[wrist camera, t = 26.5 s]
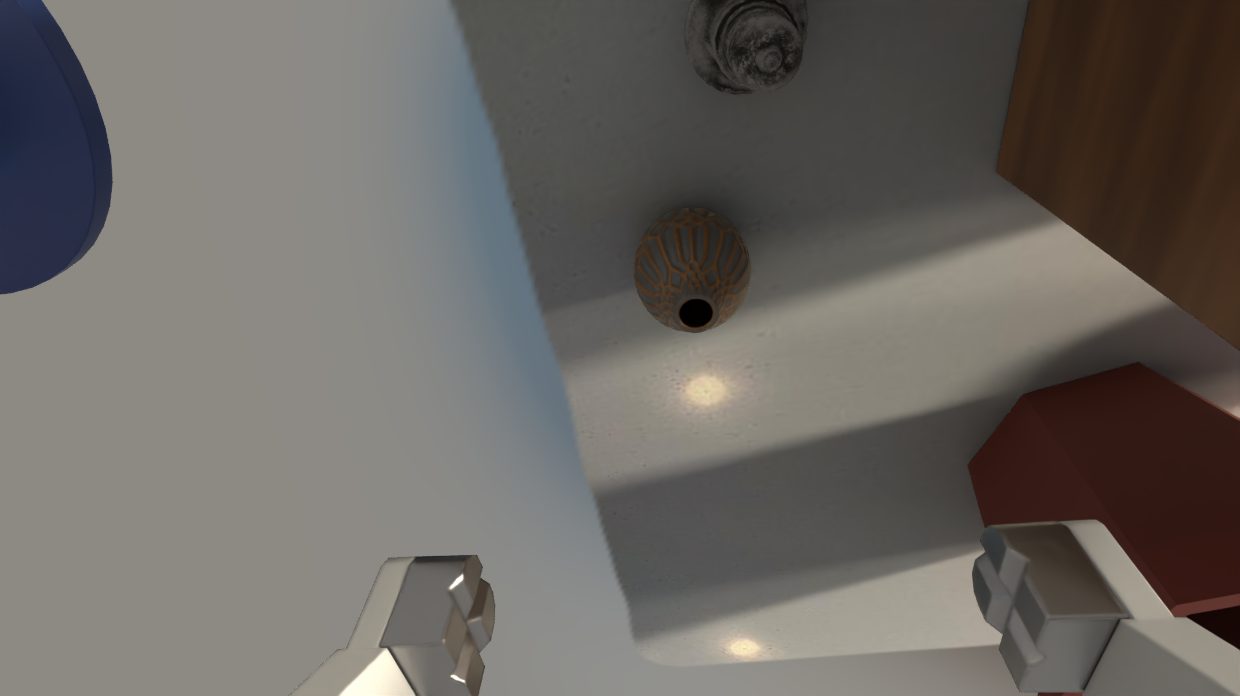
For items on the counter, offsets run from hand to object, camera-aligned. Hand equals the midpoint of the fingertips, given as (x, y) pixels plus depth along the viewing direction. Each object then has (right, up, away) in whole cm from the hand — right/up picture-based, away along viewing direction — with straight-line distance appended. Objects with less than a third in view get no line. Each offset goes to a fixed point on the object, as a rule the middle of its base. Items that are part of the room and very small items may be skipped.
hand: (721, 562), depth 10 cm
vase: (+3, +10, +30) cm, 32 cm away
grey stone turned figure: (+5, +21, +23) cm, 32 cm away
